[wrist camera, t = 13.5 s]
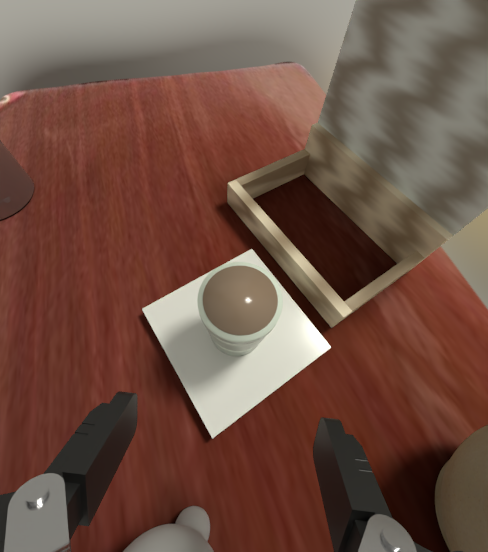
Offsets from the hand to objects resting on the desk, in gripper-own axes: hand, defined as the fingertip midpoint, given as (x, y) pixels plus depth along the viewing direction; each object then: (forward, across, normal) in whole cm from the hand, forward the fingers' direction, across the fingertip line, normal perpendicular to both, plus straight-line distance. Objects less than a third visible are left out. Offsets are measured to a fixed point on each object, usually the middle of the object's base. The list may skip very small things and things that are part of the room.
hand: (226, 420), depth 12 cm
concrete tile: (+16, 0, +5) cm, 17 cm away
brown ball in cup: (+15, 0, +4) cm, 16 cm away
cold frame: (+26, -9, -6) cm, 28 cm away
